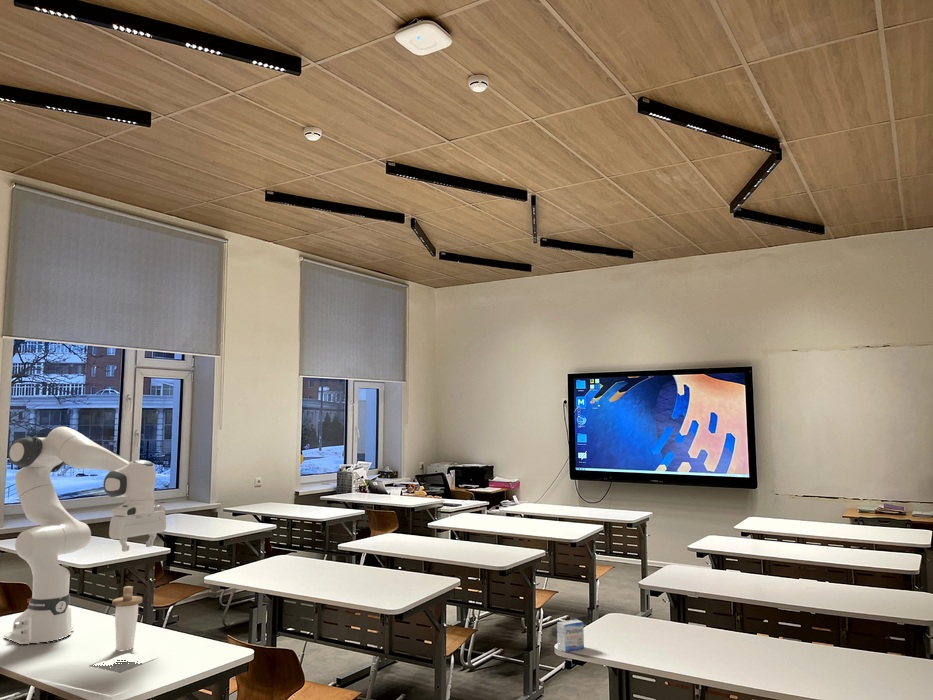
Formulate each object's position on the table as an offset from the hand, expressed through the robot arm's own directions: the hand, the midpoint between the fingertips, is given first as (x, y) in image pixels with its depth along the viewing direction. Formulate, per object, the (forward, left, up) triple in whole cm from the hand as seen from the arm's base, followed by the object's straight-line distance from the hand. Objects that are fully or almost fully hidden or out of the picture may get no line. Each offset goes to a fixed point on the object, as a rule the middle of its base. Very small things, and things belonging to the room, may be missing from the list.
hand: (137, 548), depth 229 cm
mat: (+12, -12, -32) cm, 36 cm away
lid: (+1, -3, -17) cm, 17 cm away
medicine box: (+136, +59, -32) cm, 151 cm away
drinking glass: (+1, -3, -32) cm, 32 cm away
